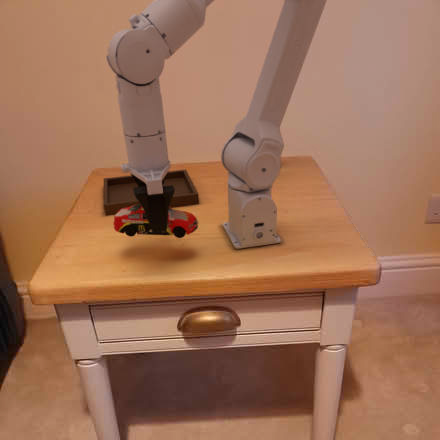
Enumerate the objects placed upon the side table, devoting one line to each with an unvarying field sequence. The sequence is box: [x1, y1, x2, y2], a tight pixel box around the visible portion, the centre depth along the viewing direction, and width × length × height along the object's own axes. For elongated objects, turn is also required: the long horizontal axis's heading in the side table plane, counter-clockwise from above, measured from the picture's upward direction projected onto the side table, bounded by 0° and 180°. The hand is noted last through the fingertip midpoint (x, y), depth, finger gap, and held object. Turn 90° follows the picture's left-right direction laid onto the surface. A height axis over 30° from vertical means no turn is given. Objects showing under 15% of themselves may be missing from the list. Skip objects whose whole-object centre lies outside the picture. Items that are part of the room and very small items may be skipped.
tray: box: [103, 169, 200, 216], centre depth 90 cm, size 16×19×2 cm
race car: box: [112, 204, 199, 239], centre depth 66 cm, size 13×5×4 cm, turn 81°
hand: (157, 221), depth 66 cm, fingers closed on race car, 6 cm apart
